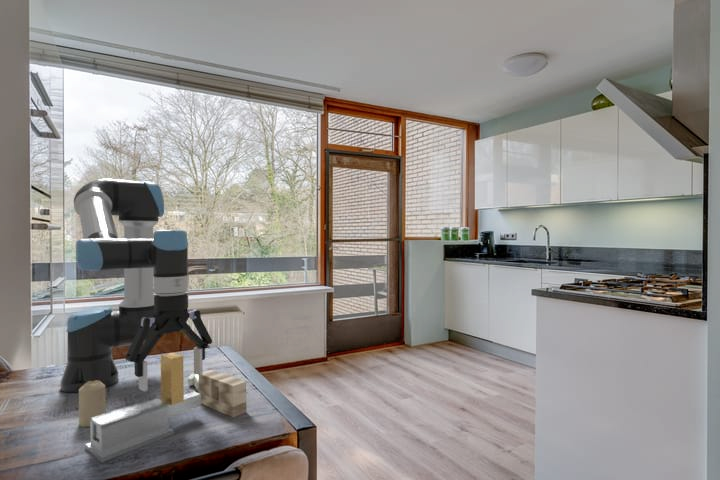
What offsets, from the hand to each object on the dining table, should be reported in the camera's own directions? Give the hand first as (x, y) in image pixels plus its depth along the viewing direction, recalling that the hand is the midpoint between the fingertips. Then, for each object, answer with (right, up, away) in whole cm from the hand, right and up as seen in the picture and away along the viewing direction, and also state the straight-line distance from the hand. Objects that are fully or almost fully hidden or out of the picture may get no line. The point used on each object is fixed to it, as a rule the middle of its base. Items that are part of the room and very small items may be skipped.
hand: (172, 381), depth 99 cm
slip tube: (-3, -8, -4) cm, 9 cm away
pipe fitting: (-3, -11, +25) cm, 28 cm away
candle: (-21, -11, +2) cm, 24 cm away
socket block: (+8, -11, +11) cm, 17 cm away
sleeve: (-6, -11, -8) cm, 14 cm away
